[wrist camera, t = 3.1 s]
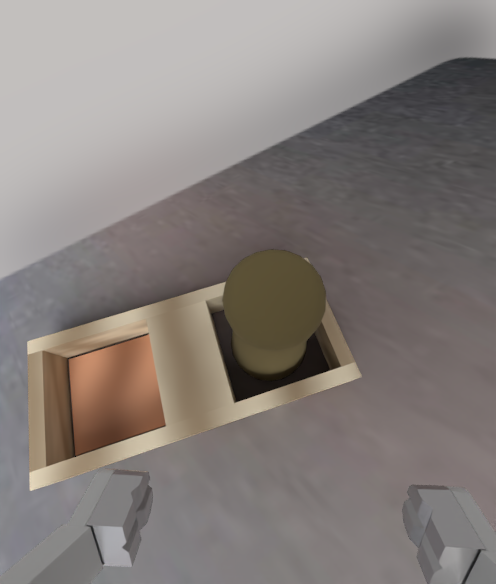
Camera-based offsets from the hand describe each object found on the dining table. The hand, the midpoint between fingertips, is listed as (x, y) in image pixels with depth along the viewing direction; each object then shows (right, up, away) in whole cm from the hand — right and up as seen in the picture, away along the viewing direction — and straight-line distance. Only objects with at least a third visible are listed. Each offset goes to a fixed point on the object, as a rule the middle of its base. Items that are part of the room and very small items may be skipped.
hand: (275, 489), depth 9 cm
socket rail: (-5, 0, +14) cm, 15 cm away
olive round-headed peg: (+1, +2, +14) cm, 15 cm away
